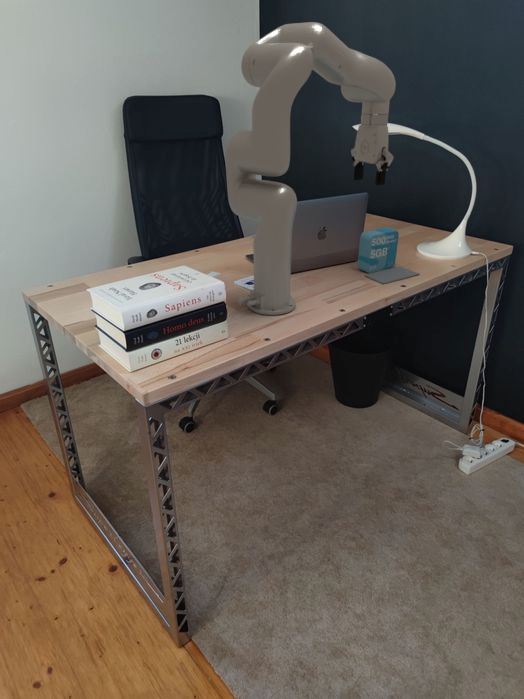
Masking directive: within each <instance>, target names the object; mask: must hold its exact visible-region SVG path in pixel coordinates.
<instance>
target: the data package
mask: <svg viewBox="0 0 524 699" xmlns="http://www.w3.org/2000/svg"><path fill="white" fill-rule="evenodd" d="M399 235H400V233H399V231H398V230H395V229H392V228H390V227H383V228H382V227H381V228H377V229H376V228H375V229H372V230H366V231H363V232H362V233H361V234H360V236H359V246H358V257H357V268H358V270H361V271H363V272H366V273H368V274H372V273H376V272H380V271H384V270H388V269H392V268H394V266H395V265H396V259H397V252H398V243H399Z"/></svg>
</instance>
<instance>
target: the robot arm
mask: <svg viewBox="0 0 524 699" xmlns="http://www.w3.org/2000/svg"><path fill="white" fill-rule="evenodd" d="M240 68H241V74H242V76H243V78H244V80H245V81H246V82H247V84H249V85H251V86H252V87H254V88H259V89H258V91H257V93H256V95H255V97H254V100H253V104H252V109H251V130H249V129H246V130H245V129H244V130H239V131H235V133H233V134H232V136H231V137H230V138H229V140H228V141H227V145H226V148H225V159H224V160H225V172H226V176H225V177H226V185H227V186H226V187H227V198H228V204H229V207H230V209H231V211H232V212H233V214H235V215H236V216H238V217H241V218H245V219H248V220H254V221H257V222H260V225H259V227H258V229H257V230H256V232H255V234H254V237H253V242H252V244H253V245H252V246H253V247H252V248H253V289H250V291H249V293H248V294H247V296H241V297H237V300H236V301H237V304H238V305H239V306H243V305H247V307H248V308H249V309H250V311H253V312H255V313H257V314H260V315H264V316H265V315H268V316H276V315H278V316H279V315H284V314H288V313H290V312H292V311H293V310H294V309H296V304H297V302H296V299H295V298H294V297H292V296H291V278H292V277H291V274H292V273H291V272H292V270H291V269H292V240H293V239H292V238H293V237H292V236H293V226H294V221H295V216H296V212H297V207H298V205H297V204H298V198H297V195H296V192H295V190H294V188H292V187H290V186H289V185H287V184H285V183H282V182H278V181H271V180H266V179H264V180H263V179H259V178H257V176H264V177H280V176H282V175H285V174H286V173H287V171H288V170H289V167H290V161H291V111H292V106H293V103H294V100H295V99H296V97H297V94H298V93H299V91H300V90H301V88H302V87H303V86H304V85H305V83H306V82H307V81H308V79H309V77H310V76H311V74H312V71H314V72H315V73H317V74H318V75H319V76H320V77H321V78H323V79H324V80H325V81H326V82H328V83H330V84H333V85H337V86H340V91H341V94H342V96H343V98H344V99H345V100H347V101H348V102H351V103H361V104H362V106H361V116H360V125H358V128H357V132H356V137H355V143H354V147H353V148H351V150H350V153H351V160H352V161H353V167H354V170H353V171H354V173H353V180H354V181H361V180H363V178H364V170H365V168H364V167H365V166H364V163H365V164H371V165H373V164H375V166H376V168H377V170H376V173H375V182H374V184H375V186H383V185H385V184H386V175H387V171H388V170H389V168H390V167H391V166H392V162H393V160H394V158H395V157H394V155H393V154H392V153H391V152H390V151H389V126H388V122H389V121H388V120H389V113H390V101H391V99H392V97H394V94H395V92H396V84H397V83H396V78H395V75H394V74H393V72H392V70H391V69H390V68H389V67H388V66H387V65H386V63H385V62H383V61H381V60H379V59H378V58H376V57H373V56H369V55H368V54H365V53H363V52H361V51H358V50H355V49H352V48H349V47H348V46H347V45H346V44H345V43H344V42H343V41H341V40H340V38H338V36H336V35H335V33H333V32H332V31H331V30H330V29H329V28H328V27H327V26H325V25H324V24H323V23H321V22H315V21H308V22H307V21H306V22H299V23H298V22H295V23H286V24H283V25H281V26H278V27H277V28H275V29H273V30H272V31H270V32H269V33H267V34H265V35H264V36H262V37H261V38H260V39H258V40H256V41H254V43H252V44H250V45H249V46H248V47H247V49H246V50H245V51H244V53H243V56H242V58H241V67H240Z"/></svg>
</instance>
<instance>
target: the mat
mask: <svg viewBox="0 0 524 699" xmlns="http://www.w3.org/2000/svg"><path fill="white" fill-rule="evenodd" d="M416 276H420V273H419V272H416V271H414V270H410V269H408V268H405V267H402V266H395V267H392V268H389V269H385V270H380V271H376V272H372V273H368V274H365V275H364V277H365V278H367V279H370V280H372V281H374V282H377V283H379V284H381V285H383V286H384V285H387V284H392V283H393V282H397V281H403V280H406V279H408V278H409V279H410V278H413V277H416Z"/></svg>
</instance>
